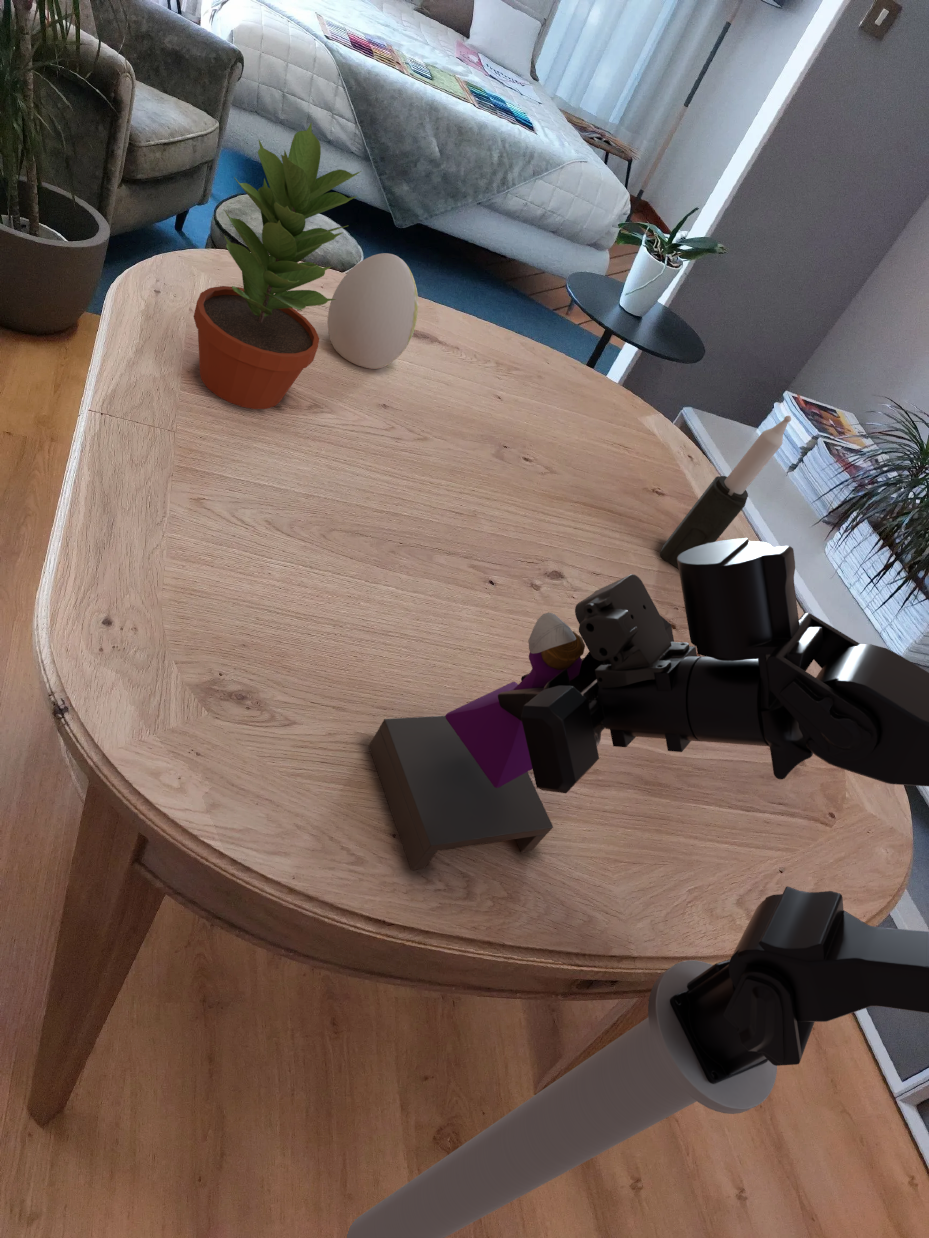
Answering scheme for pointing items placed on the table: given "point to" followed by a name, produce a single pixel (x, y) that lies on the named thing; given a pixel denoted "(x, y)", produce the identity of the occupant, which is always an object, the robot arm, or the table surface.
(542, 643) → the perfume bottle
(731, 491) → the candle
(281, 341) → the potted plant
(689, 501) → the table surface
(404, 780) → the shelf
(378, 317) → the decorative egg
